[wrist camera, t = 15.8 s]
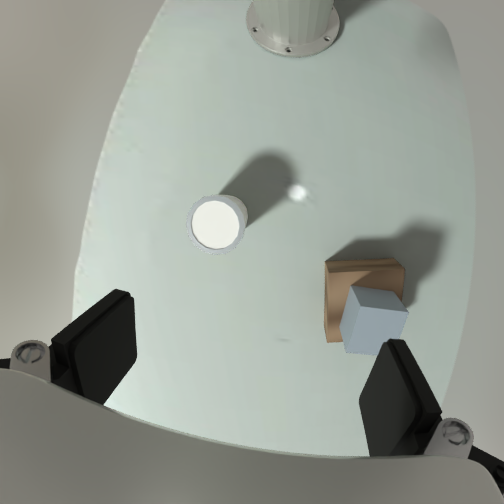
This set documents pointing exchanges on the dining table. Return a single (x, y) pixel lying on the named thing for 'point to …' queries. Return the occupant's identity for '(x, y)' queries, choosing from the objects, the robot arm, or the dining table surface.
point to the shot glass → (217, 223)
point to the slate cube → (371, 319)
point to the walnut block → (357, 274)
